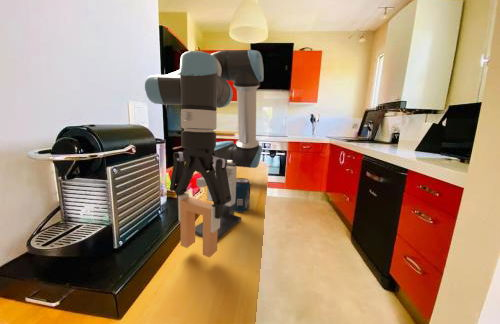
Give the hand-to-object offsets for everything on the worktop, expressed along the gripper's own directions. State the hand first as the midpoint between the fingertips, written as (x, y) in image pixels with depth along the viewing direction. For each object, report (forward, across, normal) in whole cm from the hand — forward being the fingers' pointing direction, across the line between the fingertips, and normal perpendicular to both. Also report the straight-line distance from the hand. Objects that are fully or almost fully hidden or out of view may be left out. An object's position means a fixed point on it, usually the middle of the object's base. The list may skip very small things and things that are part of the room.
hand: (198, 224), depth 49 cm
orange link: (+6, 0, 0) cm, 6 cm away
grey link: (+1, -5, +16) cm, 17 cm away
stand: (+9, -5, +15) cm, 18 cm away
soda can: (+9, -5, +30) cm, 32 cm away
